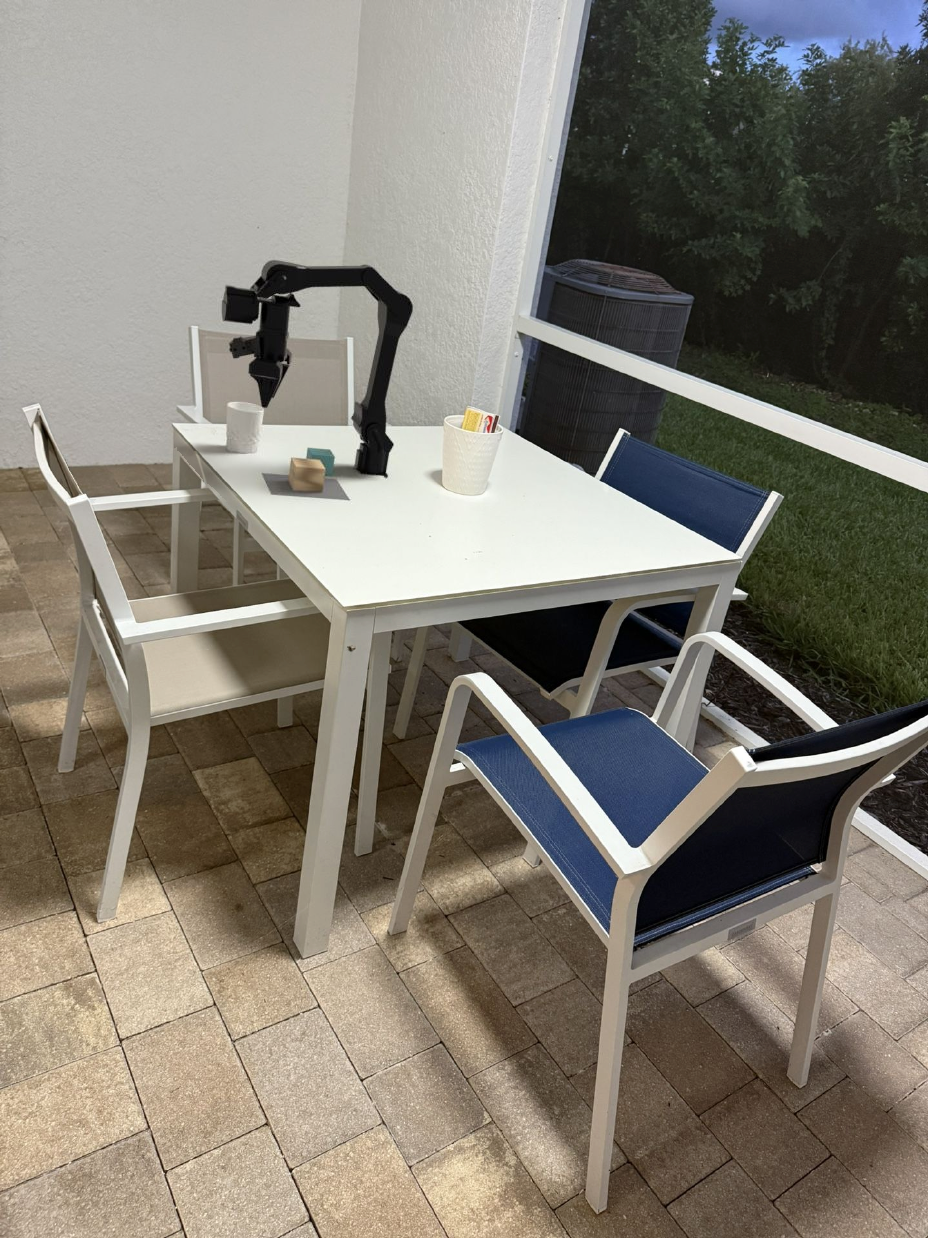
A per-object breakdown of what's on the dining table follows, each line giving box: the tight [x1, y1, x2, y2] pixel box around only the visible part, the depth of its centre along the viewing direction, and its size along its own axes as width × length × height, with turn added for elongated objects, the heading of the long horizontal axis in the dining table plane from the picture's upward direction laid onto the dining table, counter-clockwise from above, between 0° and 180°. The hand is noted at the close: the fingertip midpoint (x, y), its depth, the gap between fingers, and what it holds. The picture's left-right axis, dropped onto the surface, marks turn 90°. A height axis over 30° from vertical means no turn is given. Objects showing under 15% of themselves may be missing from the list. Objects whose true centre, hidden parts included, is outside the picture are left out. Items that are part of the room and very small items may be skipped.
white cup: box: [225, 401, 265, 455], centre depth 202 cm, size 8×8×10 cm
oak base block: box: [288, 457, 326, 492], centre depth 188 cm, size 6×6×5 cm
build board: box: [261, 472, 351, 501], centre depth 189 cm, size 16×13×1 cm
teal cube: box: [305, 447, 336, 477], centre depth 199 cm, size 5×5×5 cm
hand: (267, 402), depth 192 cm, fingers open, 9 cm apart
